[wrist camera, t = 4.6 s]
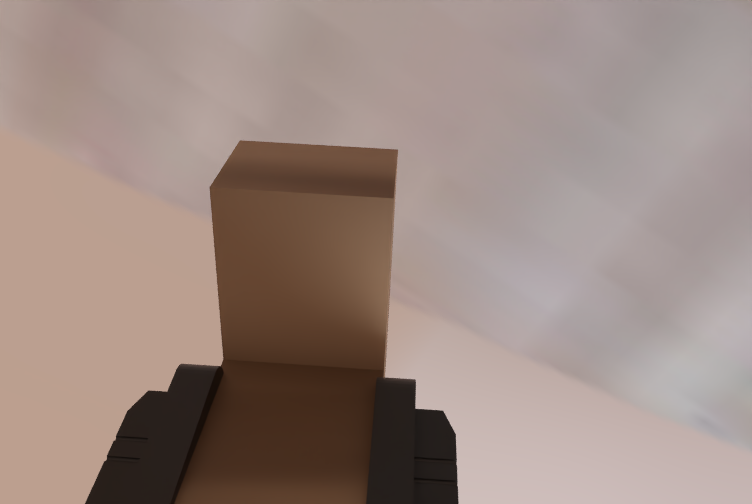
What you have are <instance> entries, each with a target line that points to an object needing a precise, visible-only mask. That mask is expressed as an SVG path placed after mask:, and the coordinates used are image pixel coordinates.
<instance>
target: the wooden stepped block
mask: <svg viewBox="0 0 752 504" xmlns="http://www.w3.org/2000/svg"><path fill="white" fill-rule="evenodd" d="M397 157H398V150H394V149H377V148H360V147H342V146H325V145H308V144H291V143H273V142H256V141H239V143H238V144H237V146H236V148H235V149H234V151H233V152H232V154H231V155H230V157H229V158H228V160H227V161H226V163H225V165H224V166H223V168H222V169H221V171H220V172H219V174H218V175H217V177H216V178H215V180H214V182H213V183H212V185H211V186H210V197H211V210H212V222H213V234H214V247H215V260H216V271H217V284H218V296H219V309H220V322H221V334H222V346H223V357H224V358H223V359H224V360H223V362H222V365H221V367H222V369H223V372H224V374H223V377H222V379H221V382H220V385H219V387H218V390H217V392H216V395H215V398H214V400H213V403H212V406H211V408H210V411H209V413H208V416H207V419H206V421H205V424H204V426H203V429H202V432H201V434H200V437H199V440H198V442H197V445H196V447H195V450H194V453H193V455H192V458H191V461H190V463H189V466H188V468H187V471H186V474H185V476H184V479H183V482H182V484H181V487H180V489H179V492H178V495H177V497H176V500H175V502H174V504H366V499H367V487H368V474H369V462H370V450H371V438H372V426H373V414H374V402H375V390H376V379H377V377H384V378H385V366H386V348H387V331H388V314H389V313H388V312H389V296H390V279H391V262H392V244H393V227H394V209H395V192H396V174H397Z"/></svg>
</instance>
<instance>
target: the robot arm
mask: <svg viewBox="0 0 752 504" xmlns="http://www.w3.org/2000/svg"><path fill="white" fill-rule="evenodd" d="M223 374H224V372H223V369H222V367H221V366H207V365H192V364H180V365H179V366H178V368H177V370H176V372H175V375H174V377H173V379H172V382H171V384H170V387H169V389H168V392H162V391H148V392H147V393H146V394H145V395H144V396H143V397H141V399H139V400H138V402H136V403H135V404H134V405H133V406H132V407H131V408H130V409H129V410H128V411H127V413H126V415H125V418H124V420H123V422H122V424H121V426H120V428H119V431H118V433H117V435H116V440H115V441H114V442H113V444H112V446H111V448H110V450H109V453H108V455H107V460H106V461H105V462H104V463H103V466H102V468H101V470H100V472H99V474H98V477H97V479H96V481H95V483H94V485H93V487H92V490H91V492H90V494H89V496H88V498H87V501H86V503H85V504H174V502H175V500H176V497H177V495H178V492H179V489H180V487H181V484H182V482H183V479H184V476H185V474H186V471H187V468H188V466H189V463H190V461H191V458H192V455H193V453H194V450H195V447H196V445H197V442H198V440H199V437H200V434H201V432H202V429H203V426H204V424H205V421H206V419H207V416H208V413H209V411H210V408H211V406H212V403H213V400H214V398H215V395H216V392H217V390H218V387H219V385H220V382H221V379H222V377H223ZM415 390H416V382H415V380H413V379H398V378H384V377H377V379H376V390H375V402H374V414H373V426H372V438H371V450H370V462H369V474H368V487H367V499H366V504H458V486H457V465H456V460H457V459H456V434H455V432H454V430H453V429H452V427H451V425H450V423H449V421H448V419H447V417H446V415H445V414H444V412H443V411H439V410H424V409H415V394H416V393H415V392H416V391H415Z"/></svg>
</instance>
